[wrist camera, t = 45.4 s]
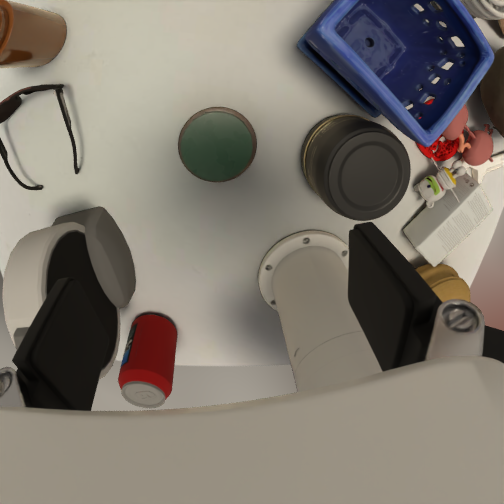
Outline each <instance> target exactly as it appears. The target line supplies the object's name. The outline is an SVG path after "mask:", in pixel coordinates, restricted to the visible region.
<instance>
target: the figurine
mask: <svg viewBox="0 0 504 504" xmlns="http://www.w3.org/2000/svg"><path fill="white" fill-rule="evenodd" d="M467 120H468V111H467V107H466V105H465V104H464V106H463V107H462V109H461V110H460V111H459V113H458V114H457V115H456V116H455V118H454V119H453V120H452V122H451V123H450V124H449V125H448V127H447V128H446V129H445V130H444V131H443V133H442V136H443V137H445V138H446V139H448V140H455V139H456V138H459V147H458V149H457V151H458V152H459V153H462V157H463V159H464V161H465V162H466V163H467V164H469V165H471V166H479V165H481V164H483V163H485V162H486V161H487V160H488V159H489V161H490V162H493V159H492V158H491V154H492V152H493V141H492V138H491V135H492V133H493V129H489V127H490V125H489V124H484V126H486V128H485V131H482V130H476V131H473V132H471V131H470V129H469V128H468V127H467V125H466V123H467ZM463 129H465V130H466V131H468V133H469V136H468V139H467V141H466V142H465V143H464V136H463V134H462V131H463ZM488 131H489V132H490V133H489V134H488V133H487V132H488Z"/></svg>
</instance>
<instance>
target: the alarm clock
mask: <svg viewBox="0 0 504 504" xmlns="http://www.w3.org/2000/svg"><path fill="white" fill-rule="evenodd" d="M67 277H73V278H74V279H75V280H78V281H79V282H80V284H81V286H82V288H83V290H84V292H85V294H86V296H87V298H88V300H89V301H90V303H91V305H92V307H93V309H94V311H95V313H96V314H97V316H98V318H99V320H100V322H101V323H102V325H103V327H104V329H105V330H106V332H107V334H108V336H109V346H108V349H107V353H106V356H105V359H104V363H103V366H102V370H101V373H100V377H99V379H101V378H103V377H105V375H106V374H107V373H108V371H109V370H110V369H111V367H112V366H113V363H114V361H115V358H116V355H117V352H118V346H119V341H120V308H123V307H126V306H127V305H128V303H129V301H130V299H131V297H132V295H133V293H134V291H135V283H136V279H135V270H134V264H133V260H132V257H131V253H130V250H129V247H128V245H127V243H126V241H125V239H124V236H123V234H122V232H121V231H120V229H119V228H118V226H117V224H116V223H115V221H114V220H113V218H112V217H111V216H110V215H109V213H108V212H107V211H106V210H105V209H104V208H102V207H96V208H92V209H88V210H84V211H80V212H77V213H73V214H69V215H66V216H62V217H58V218H57V219H56V220H55V222H54V223H53V225H52V226H51V227H47V228H44V229H40V230H37V231H33V232H30V233H29V234H27V235H26V236H24V237H23V238H22V239H20V240H19V242H18V243H17V245H16V246H15V248H14V249H13V251H12V252H11V254H10V257H9V260H8V263H7V266H6V269H5V272H4V283H3V305H4V313H5V320H6V323H7V327H8V330H9V333H10V336H11V339H12V341H13V344H14V345H15V347H16V349H17V350H18V348H19V346H20V344H21V342H22V340H23V338H24V336H25V334H26V332H27V331H28V329H29V327H30V325H31V323H32V322H33V320H34V318H35V316H36V314H37V313H38V311H39V309H40V308H41V306H42V304H43V302H44V301H45V299H46V297H47V296H48V294H49V293H50V291H51V289H52V288H53V286H54V284H55V283H56V281H57V280H58V279H62V278H67Z"/></svg>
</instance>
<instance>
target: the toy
mask: <svg viewBox="0 0 504 504" xmlns="http://www.w3.org/2000/svg"><path fill="white" fill-rule="evenodd" d="M493 128H495V129H496V130H498V131H499V132H500V133H501V134H502V132H501V131H500V130H499V129H497V128H496V127H493ZM431 159H432V161H433V162H434V164H435V166H436V167H437V168H438V170H439V172H438V173H437V175H436V177H435V176H432V175H430V176H427V177H425V178H424V179H423V180H422V181H421V182H420V183H418V184H416V186H414V189H415V191H416V192H420V195H421V196H422V197H423V198H424V199H425V200H427V201H426V206H427V207H428V208H432V207H433V206H434V202H435V201H437V200H439V199H441V198H442V197H443V196H444V195H445V193H446V190H448V189H450V190H451V191H452V192H453V194H454V196H455V198H456V199H457V201H458V202H459V200H458V198H457V196H456V194H455V193H454V191H453V189H452V188H453V187H456V179H455V178H456V177H457V176H462V175H464V174H465V173H466V168H465V167H463V166H462V162H461V161H458V160H457V161H454V162H453V164H452V168H451V169H450V170H449V169H448V168H446V167H445V168H444V167H442V169H441V170H440V168H439V167H438V165H437V163H436V162H435V161H434V159H433V158H432V157H431ZM455 170H457V171H456V173H455V174H454V175H453V174H452V172H453V171H455Z"/></svg>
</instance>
